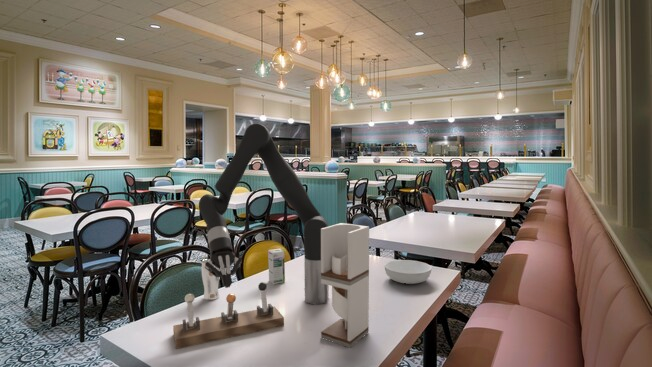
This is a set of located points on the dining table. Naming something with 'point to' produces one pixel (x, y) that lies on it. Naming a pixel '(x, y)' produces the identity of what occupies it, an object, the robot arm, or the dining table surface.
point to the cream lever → (190, 311)
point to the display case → (346, 280)
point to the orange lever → (230, 307)
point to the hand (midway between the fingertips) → (227, 286)
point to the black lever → (263, 297)
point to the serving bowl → (408, 271)
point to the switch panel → (226, 326)
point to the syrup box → (276, 266)
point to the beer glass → (209, 283)
